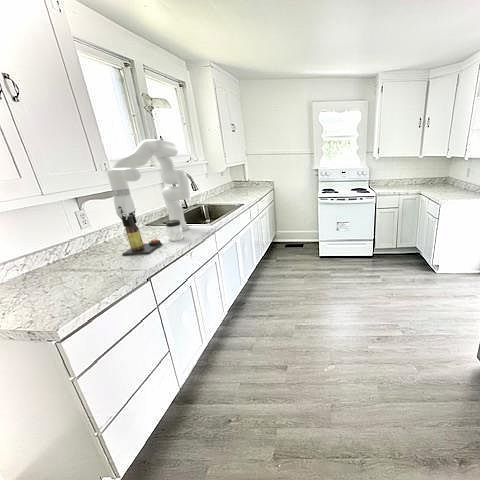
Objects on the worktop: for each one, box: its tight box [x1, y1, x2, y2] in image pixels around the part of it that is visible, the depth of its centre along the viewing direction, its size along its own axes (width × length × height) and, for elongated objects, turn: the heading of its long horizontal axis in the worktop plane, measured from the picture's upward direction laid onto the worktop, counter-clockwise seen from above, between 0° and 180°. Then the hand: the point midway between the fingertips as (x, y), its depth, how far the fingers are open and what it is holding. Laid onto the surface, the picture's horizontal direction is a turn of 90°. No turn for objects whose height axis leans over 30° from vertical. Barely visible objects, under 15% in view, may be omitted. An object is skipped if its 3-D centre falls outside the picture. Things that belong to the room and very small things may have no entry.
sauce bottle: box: [124, 214, 144, 250], centre depth 149 cm, size 6×6×20 cm
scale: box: [121, 239, 163, 257], centre depth 154 cm, size 16×14×3 cm
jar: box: [165, 219, 184, 242], centre depth 170 cm, size 9×8×12 cm
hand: (130, 224), depth 147 cm, fingers open, 5 cm apart
